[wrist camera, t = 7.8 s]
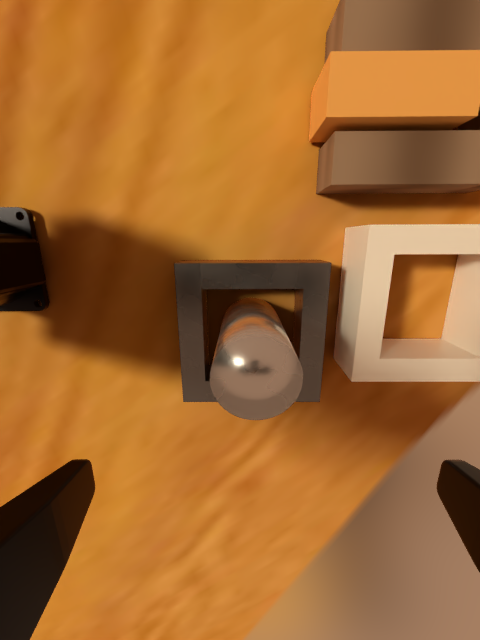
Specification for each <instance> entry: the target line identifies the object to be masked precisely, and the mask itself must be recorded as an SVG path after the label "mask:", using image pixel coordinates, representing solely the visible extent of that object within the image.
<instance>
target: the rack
mask: <svg viewBox="0 0 480 640" xmlns="http://www.w3.org/2000/svg"><path fill="white" fill-rule="evenodd" d="M394 254H458V258H457V263H456V268H455V273H454V278H453V283H452V288H451V293H450V298H449V303H448V308H447V313H446V318H445V323H444V328H443V332H442V337H441V339H383V332H384V324H385V317H386V310H387V303H388V296H389V289H390V282H391V275H392V268H393V261H394ZM333 359H334V360H335V361H336V362H337V364H338V365H339V366H340V368H341V369H342V370H343V371H344V373H345V374H346V375H347V377H348V378H349V379H350V380H351V382H480V224H427V225H364V226H356V227H347V228H345V239H344V249H343V260H342V271H341V282H340V292H339V303H338V314H337V324H336V335H335V346H334V356H333Z"/></svg>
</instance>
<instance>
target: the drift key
mask: <svg viewBox="0 0 480 640" xmlns="http://www.w3.org/2000/svg"><path fill="white" fill-rule="evenodd" d="M479 107H480V50H420V51H331V52H330V54H329V56H328V58H327V60H326V63H325V65H324V67H323V69H322V71H321V73H320V75H319V77H318V80H317V82H316V84H315V86H314V88H313V90H312V96H311V114H310V132H309V142H326V141H327V140H328V139H329V138H330V137H331V136H332V134H333V133H334V132H335V131H439V130H452V129H454V128H456V127H458V126H460V125H461V124H463V123H465V122H467V121H469V120H471V119H473V118H475V117H477V116H478V112H479Z"/></svg>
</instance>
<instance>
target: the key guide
mask: <svg viewBox="0 0 480 640" xmlns="http://www.w3.org/2000/svg"><path fill="white" fill-rule="evenodd" d="M420 50H480V0H340V2H339V4H338V7H337V9H336V12H335V14H334V17H333V19H332V21H331V24H330V26H329V29H328V31H327V35H326V51H325V63H326V60H327V58H328V56H329V54H330V52H331V51H420ZM478 190H480V107H479V112H478V116H477V117H475V118H473V119H471V120H469V121H467V122H465V123H463V124H461V125H460V126H458V130H439V131H335V132H334V133H333V134H332V136H331V137H330V138H329V139H328V140H327V141H326V143H325V144H324V145H323V146H322V147H321V148H320V150H319V159H318V175H317V190H316V194H381V193H468V192H473V191H478Z"/></svg>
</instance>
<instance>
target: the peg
mask: <svg viewBox="0 0 480 640" xmlns="http://www.w3.org/2000/svg"><path fill="white" fill-rule="evenodd" d="M302 384H303V370H302V366H301V363H300V361H299V359H298V357H297V355H296V353H295V351H294V348H293V346H292V344H291V342H290V340H289V338H288V336H287V334H286V332H285V330H284V328H283V325H282V323H281V321H280V319H279V317H278V315H277V313H276V311H275V310H274V308H273V307H272V306H271V305H270V304H269V303H267V302H266V301H264V300H262V299H259V298H253V297H249V298H243V299H240V300H238V301H236V302H234V303H233V304H232V305H231V306H230V307H229V308H228V309H227V311H226V312H225V314H224V317H223V321H222V325H221V329H220V333H219V338H218V342H217V346H216V350H215V354H214V358H213V362H212V367H211V371H210V386H211V390H212V392H213V395H214V397H215V398H216V400H217V401H218V403H219V404H220V405H221V406H222V407H223V408H224V409H225V410H227V411H228V412H229V413H231V414H233V415H235V416H237V417H240V418H244V419H249V420H263V419H268V418H272V417H274V416H277V415H279V414H281V413H283V412H284V411H285V410H287V409H288V408H289V407H290V406H291V405H292V404H293V403H294V402H295V401H296V399H297V397H298V396H299V394H300V391H301V388H302Z"/></svg>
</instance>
